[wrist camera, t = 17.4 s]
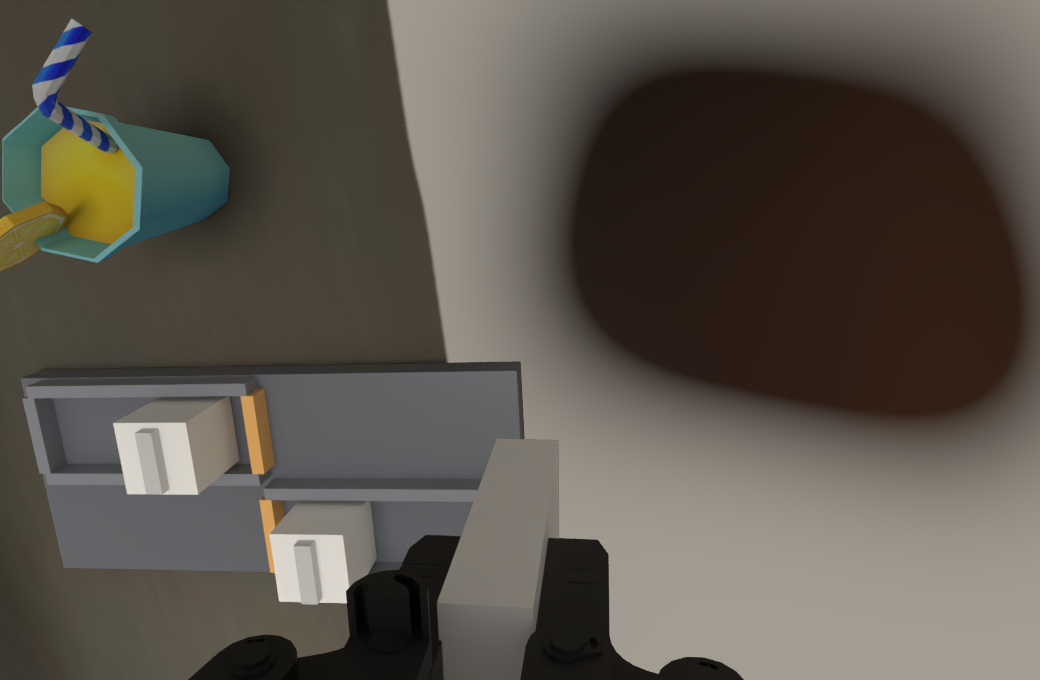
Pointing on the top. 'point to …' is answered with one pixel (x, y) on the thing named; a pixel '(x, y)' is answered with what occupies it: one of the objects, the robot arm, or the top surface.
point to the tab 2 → (322, 550)
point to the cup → (97, 175)
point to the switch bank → (272, 456)
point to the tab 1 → (177, 445)
